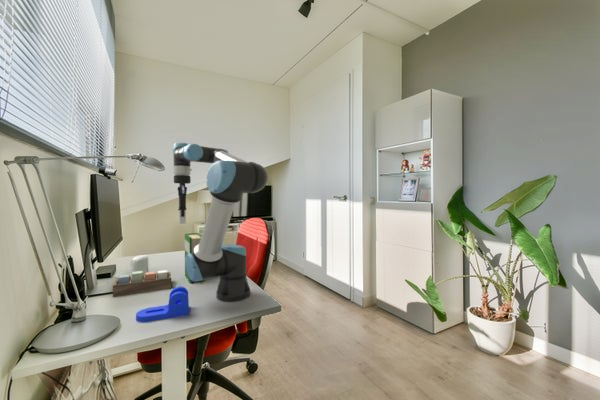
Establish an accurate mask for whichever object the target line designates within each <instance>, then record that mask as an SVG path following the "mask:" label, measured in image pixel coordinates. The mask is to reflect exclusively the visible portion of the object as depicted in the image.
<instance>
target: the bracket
mask: <svg viewBox="0 0 600 400" xmlns="http://www.w3.org/2000/svg"><path fill="white" fill-rule="evenodd" d="M168 298H169V299H168V303H167V304H166V305H160V306H158V305H157V306H152V307H148V308H147V307H146V308H143V309H140V310H139V311H137V312H136V314H135V320H136V322H139V323H146V322H153V321H160V320H165V319H171V318H177V317H184V316H189V313H190V312H189V311H190V310H189V306H190V305H189V303H190V302H189V291H188V289H187V288H186V287H184V286H177V287H174V288H172V290H171V291H170V293H169V297H168Z"/></svg>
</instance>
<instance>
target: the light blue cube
mask: <svg viewBox="0 0 600 400" xmlns="http://www.w3.org/2000/svg"><path fill="white" fill-rule="evenodd" d="M130 277H131V273H130V274H122V275H119V276H118V284H125V283H129V282H130Z"/></svg>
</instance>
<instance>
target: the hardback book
mask: <svg viewBox="0 0 600 400" xmlns="http://www.w3.org/2000/svg"><path fill="white" fill-rule="evenodd" d="M201 237H202V234H201V233H199V232H195V233H194V232H191V233H190V232H189V233H184V259H185V258H186V255H187V254H189V253H193V251H194V248H195V246H196V245H198V244H200V241H201ZM184 276H185V277H187V278H186V279H188V280H187V281H188V283H189V284H190V285H191V284H193V282H195V281H192V280H191V279H190V278H189V276H188V274H187V271H186V266H185V265H184ZM203 281H204V282H205V281H206V280H203ZM203 281H202V282H203Z"/></svg>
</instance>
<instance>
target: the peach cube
mask: <svg viewBox="0 0 600 400" xmlns="http://www.w3.org/2000/svg"><path fill="white" fill-rule="evenodd" d="M155 274H156V271H148V272H146V273H145V281H148V280H155Z"/></svg>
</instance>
